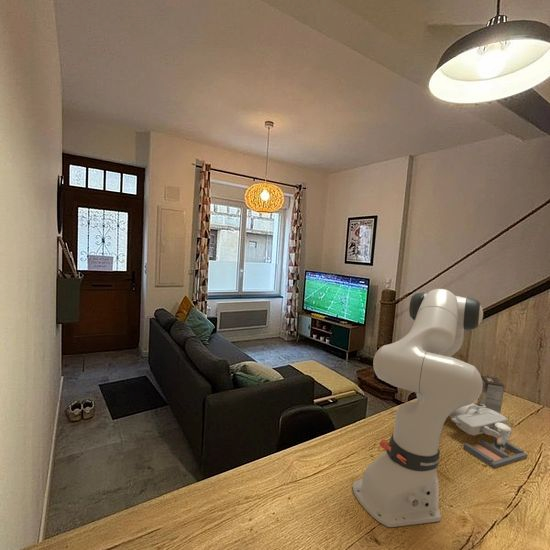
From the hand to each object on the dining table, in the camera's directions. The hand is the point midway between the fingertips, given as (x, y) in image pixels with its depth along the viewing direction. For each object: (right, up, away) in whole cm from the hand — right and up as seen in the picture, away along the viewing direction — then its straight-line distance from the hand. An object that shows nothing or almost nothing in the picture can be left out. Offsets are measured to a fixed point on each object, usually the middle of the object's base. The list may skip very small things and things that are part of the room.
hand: (505, 434), depth 107 cm
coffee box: (+11, -5, +25) cm, 28 cm away
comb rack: (-4, -6, 0) cm, 7 cm away
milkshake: (-1, -6, +1) cm, 6 cm away
